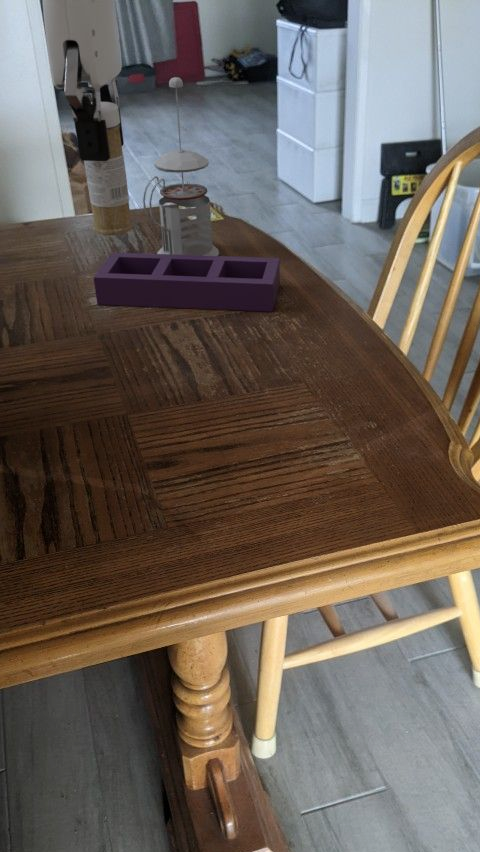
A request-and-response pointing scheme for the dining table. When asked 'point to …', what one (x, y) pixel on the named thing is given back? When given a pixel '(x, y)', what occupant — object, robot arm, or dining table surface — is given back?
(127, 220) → the sprinkles bottle
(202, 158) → the french press
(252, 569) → the dining table surface
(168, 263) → the compartment tray
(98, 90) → the robot arm
